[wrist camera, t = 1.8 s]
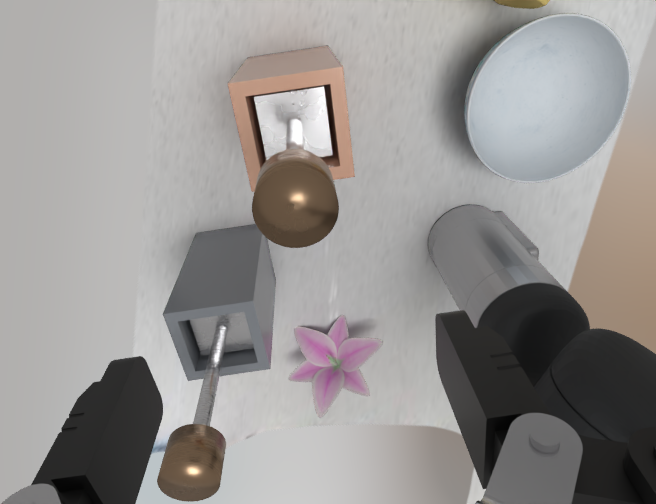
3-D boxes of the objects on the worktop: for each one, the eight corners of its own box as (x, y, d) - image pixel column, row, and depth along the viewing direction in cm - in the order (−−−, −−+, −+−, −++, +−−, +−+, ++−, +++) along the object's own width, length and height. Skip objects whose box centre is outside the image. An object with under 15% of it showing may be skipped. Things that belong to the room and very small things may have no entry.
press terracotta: (327, 45, 46) (343, 66, 32) (337, 126, 50) (354, 176, 36) (247, 57, 46) (227, 83, 32) (263, 137, 50) (251, 191, 36)
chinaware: (613, 68, 49) (665, 80, 42) (513, 183, 54) (545, 209, 47) (512, -24, 44) (552, -28, 37) (414, 112, 49) (434, 130, 43)
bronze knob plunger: (323, 85, 34) (344, 146, 20) (332, 153, 37) (356, 250, 23) (254, 95, 34) (227, 164, 20) (267, 162, 37) (252, 265, 23)
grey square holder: (263, 223, 55) (253, 300, 41) (275, 280, 58) (270, 368, 44) (196, 233, 55) (162, 314, 41) (213, 289, 58) (188, 380, 44)
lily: (388, 317, 64) (381, 332, 54) (377, 399, 65) (368, 428, 55) (305, 303, 66) (285, 316, 57) (295, 382, 67) (274, 407, 58)
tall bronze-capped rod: (243, 301, 43) (218, 450, 29) (254, 344, 46) (237, 500, 31) (188, 309, 43) (136, 462, 29) (202, 351, 46) (161, 511, 32)
